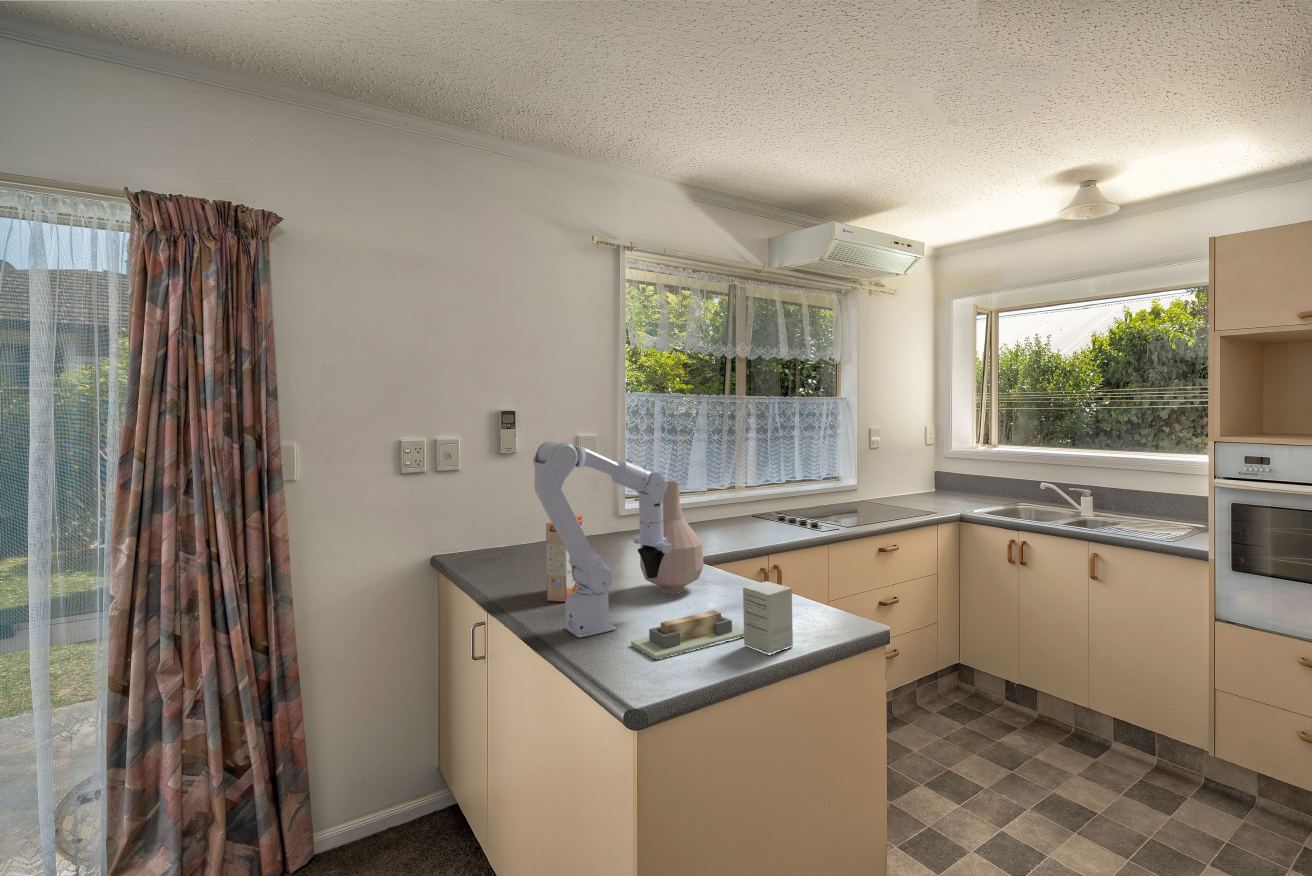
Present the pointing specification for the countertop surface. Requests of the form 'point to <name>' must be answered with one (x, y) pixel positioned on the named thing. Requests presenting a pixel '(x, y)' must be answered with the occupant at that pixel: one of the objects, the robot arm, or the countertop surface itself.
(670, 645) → the board
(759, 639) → the supplement box
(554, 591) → the cracker box
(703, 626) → the slat
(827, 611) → the countertop surface
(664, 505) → the vase
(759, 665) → the countertop surface
